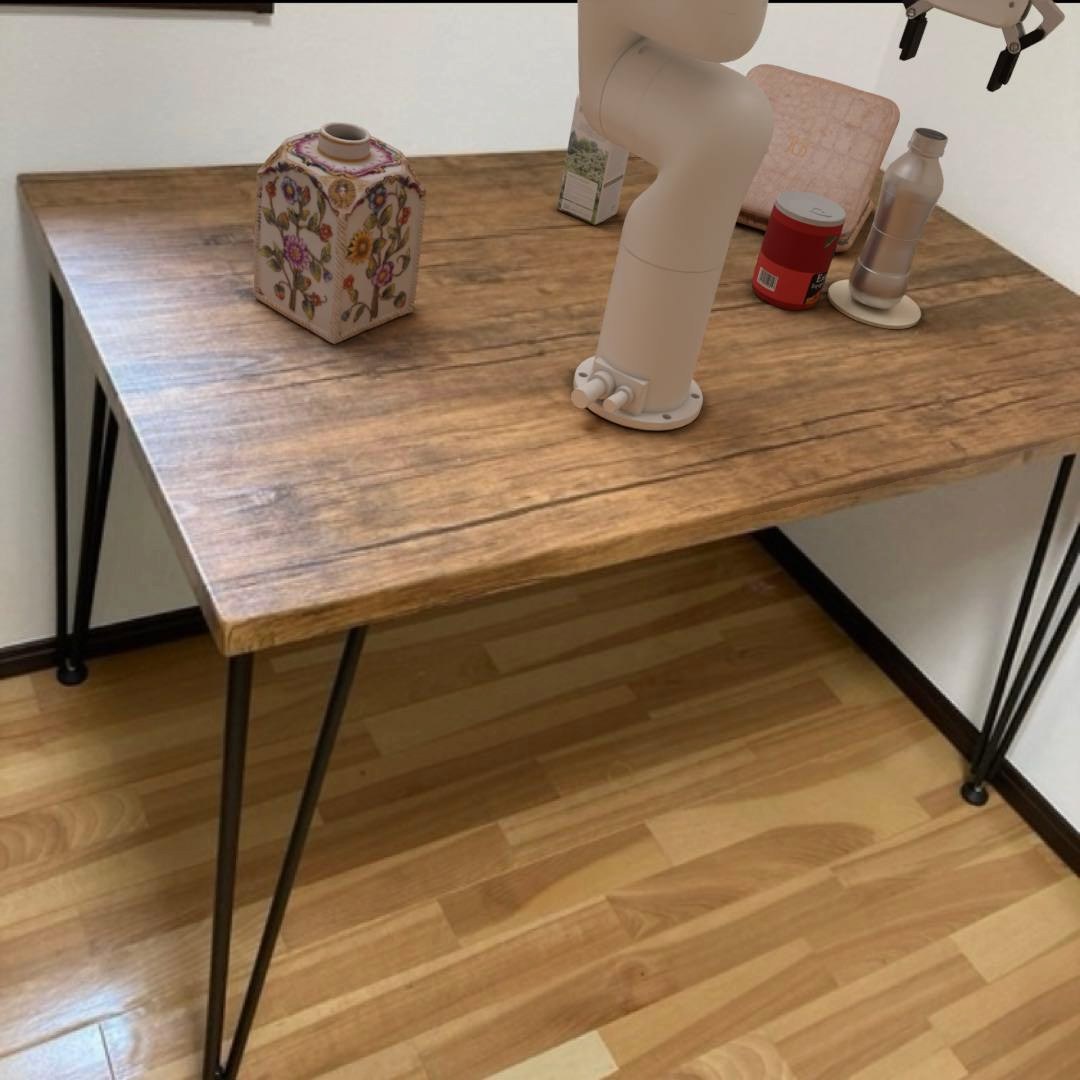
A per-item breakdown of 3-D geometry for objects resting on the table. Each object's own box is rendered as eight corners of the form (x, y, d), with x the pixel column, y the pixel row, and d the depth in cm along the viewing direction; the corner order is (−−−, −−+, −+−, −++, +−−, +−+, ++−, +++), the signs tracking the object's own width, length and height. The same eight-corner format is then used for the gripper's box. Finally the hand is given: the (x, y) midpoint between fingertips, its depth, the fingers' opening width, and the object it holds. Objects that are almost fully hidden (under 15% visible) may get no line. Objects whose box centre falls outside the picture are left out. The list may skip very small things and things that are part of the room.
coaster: (899, 339, 140) (900, 335, 139) (812, 301, 144) (813, 297, 143) (933, 309, 147) (934, 305, 147) (849, 273, 151) (850, 270, 151)
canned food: (816, 317, 140) (846, 227, 134) (747, 300, 141) (773, 209, 134) (818, 289, 147) (847, 201, 140) (752, 272, 147) (778, 184, 140)
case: (688, 212, 158) (720, 86, 148) (734, 164, 174) (765, 47, 164) (843, 263, 154) (885, 136, 144) (875, 209, 170) (916, 91, 160)
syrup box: (618, 214, 154) (643, 97, 145) (593, 227, 150) (617, 108, 141) (579, 197, 156) (601, 82, 147) (554, 210, 152) (575, 91, 143)
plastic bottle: (888, 321, 142) (952, 151, 129) (834, 299, 144) (892, 130, 132) (906, 303, 146) (970, 138, 134) (854, 282, 148) (911, 117, 136)
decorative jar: (249, 298, 123) (253, 119, 112) (334, 267, 131) (345, 97, 120) (335, 349, 118) (347, 167, 107) (418, 313, 126) (437, 141, 115)
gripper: (918, -130, 119) (860, 52, 129) (1094, -79, 113) (1017, 108, 123) (945, -133, 124) (886, 42, 135) (1114, -85, 118) (1039, 95, 128)
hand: (949, 73), depth 129 cm, fingers open, 9 cm apart
